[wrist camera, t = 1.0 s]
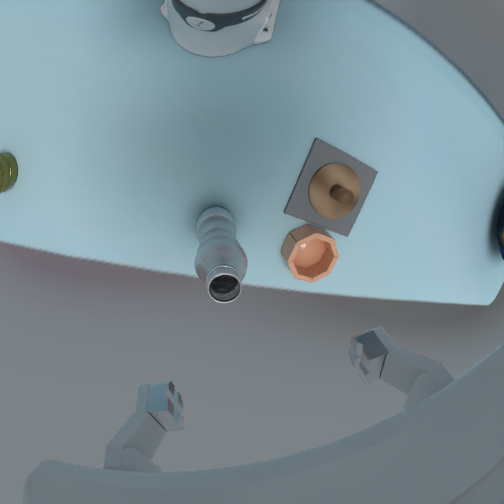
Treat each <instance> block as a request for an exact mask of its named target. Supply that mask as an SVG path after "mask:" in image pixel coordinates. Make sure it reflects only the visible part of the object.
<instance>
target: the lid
mask: <svg viewBox="0 0 504 504" xmlns="http://www.w3.org/2000/svg"><path fill="white" fill-rule="evenodd" d="M360 190H361V188H360V181H359V178H358V176H357V174H356V173H355V172H354V171H353V170H352V169H351V168H350V167H348V166H346V165H344V164H340V163H330V164H327V165H324V166H323V167H321V168H320V169H319V170H317V172H316V173H315V174H314V175H313V177H312V179H311V181H310V184H309V190H308V194H309V200H310V203H311V205H312V207H313V208H314V209H315V211H317V212H318V213H319V214H320V215H322V216H324V217H326V218H330V219H336V218H341V217H343V216H345V215H347V214H348V213H350V212H351V211H352V210H353V209H354V207H355V206H356V204H357V202H358V200H359V197H360Z"/></svg>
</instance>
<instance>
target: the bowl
mask: <svg viewBox="0 0 504 504" xmlns="http://www.w3.org/2000/svg"><path fill="white" fill-rule="evenodd" d="M281 252H282V255H283V257H284V260H285V262H286V264H287V266H288V268H289V270H290V272H291V273H292V275H293V277H294V278H295V279H299V280H303V281H307V282H310V283H311V282H314V281H317V280H319V279H321V278H323V277H325V276H327V275H329V273H331V271H332V269H333V267H334V265H335V263H336V261H337V259H338V258H339V257H338V256H339V254H338V251H337V247H336V244H335V240H334V239H333V238H332V237H331V236H330V235H329V234H328V233H327V232H326V231H324V230H323V229H320V228H318V227H315V226H312V225H310V224H306V225H304V226H302V227H299V228H297V229H295V230H293V231H291V232H290V233H288V236H287V238H286V240H285V242H284V244H283V247H282V249H281Z"/></svg>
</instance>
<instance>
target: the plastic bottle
mask: <svg viewBox="0 0 504 504" xmlns="http://www.w3.org/2000/svg"><path fill="white" fill-rule="evenodd" d="M196 233H197V236H198V239H199V248H198V251H197V254H196V258H195V270H196V273H197V275H198V277H199V279H200V280H201V282H203V284H205V285H206V286H207V291H208V294H209V296H210V297H211V298H212V299H213V300H214V301H216V302H219V303H230V302H232V301H234V300H236V299H237V298H238V297H239V295H240V293H241V290H242V284H241V281H242V280H243V278H244V276H245V274H246V270H247V257H246V254H245V252H244V250H243V248H242V247H241V246H240V244H239V243H238V241H237V239H236V222H235V220H234V218H233V216H232V215H231V214H230V213H229V212H228V211H227V210H225V209H223V208H220V207H212V208H209V209H207V210H205V211H204V212H203V213H202V214H201V215H200V217H199V218H198V220H197V223H196Z"/></svg>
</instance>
